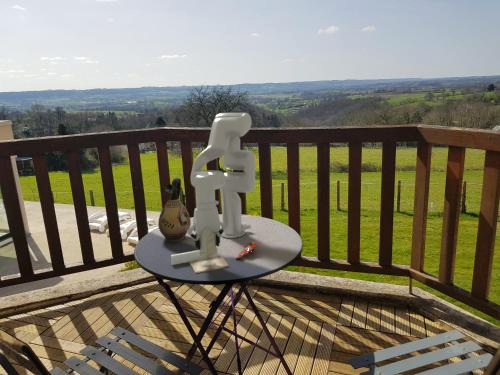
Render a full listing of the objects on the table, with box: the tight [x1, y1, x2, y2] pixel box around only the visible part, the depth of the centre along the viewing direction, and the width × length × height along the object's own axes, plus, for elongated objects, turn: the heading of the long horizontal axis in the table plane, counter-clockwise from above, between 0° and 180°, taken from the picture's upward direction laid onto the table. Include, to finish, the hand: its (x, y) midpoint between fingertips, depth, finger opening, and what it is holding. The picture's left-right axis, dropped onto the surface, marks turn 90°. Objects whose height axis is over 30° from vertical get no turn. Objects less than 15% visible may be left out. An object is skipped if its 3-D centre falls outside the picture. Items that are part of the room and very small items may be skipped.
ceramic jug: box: [157, 177, 192, 243], centre depth 177 cm, size 17×15×30 cm
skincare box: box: [199, 228, 218, 259], centre depth 148 cm, size 6×4×12 cm
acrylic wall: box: [170, 247, 219, 266], centre depth 155 cm, size 20×1×4 cm, turn 113°
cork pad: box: [188, 255, 230, 274], centre depth 150 cm, size 14×10×1 cm
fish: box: [235, 241, 259, 260], centre depth 160 cm, size 13×5×9 cm
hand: (207, 246), depth 148 cm, fingers closed on skincare box, 7 cm apart
